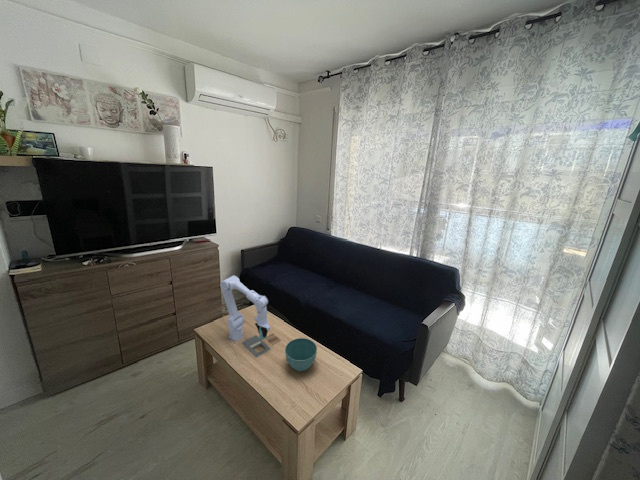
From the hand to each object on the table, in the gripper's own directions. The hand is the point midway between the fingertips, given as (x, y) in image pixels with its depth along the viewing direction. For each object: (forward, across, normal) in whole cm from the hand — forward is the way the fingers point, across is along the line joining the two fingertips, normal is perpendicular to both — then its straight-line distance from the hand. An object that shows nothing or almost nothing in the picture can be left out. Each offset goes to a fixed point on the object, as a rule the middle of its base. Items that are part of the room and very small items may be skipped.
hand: (262, 334), depth 154 cm
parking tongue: (+10, +2, -8) cm, 13 cm away
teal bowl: (+11, -27, -8) cm, 30 cm away
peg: (+2, 0, 0) cm, 2 cm away
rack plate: (+10, +3, +3) cm, 11 cm away
